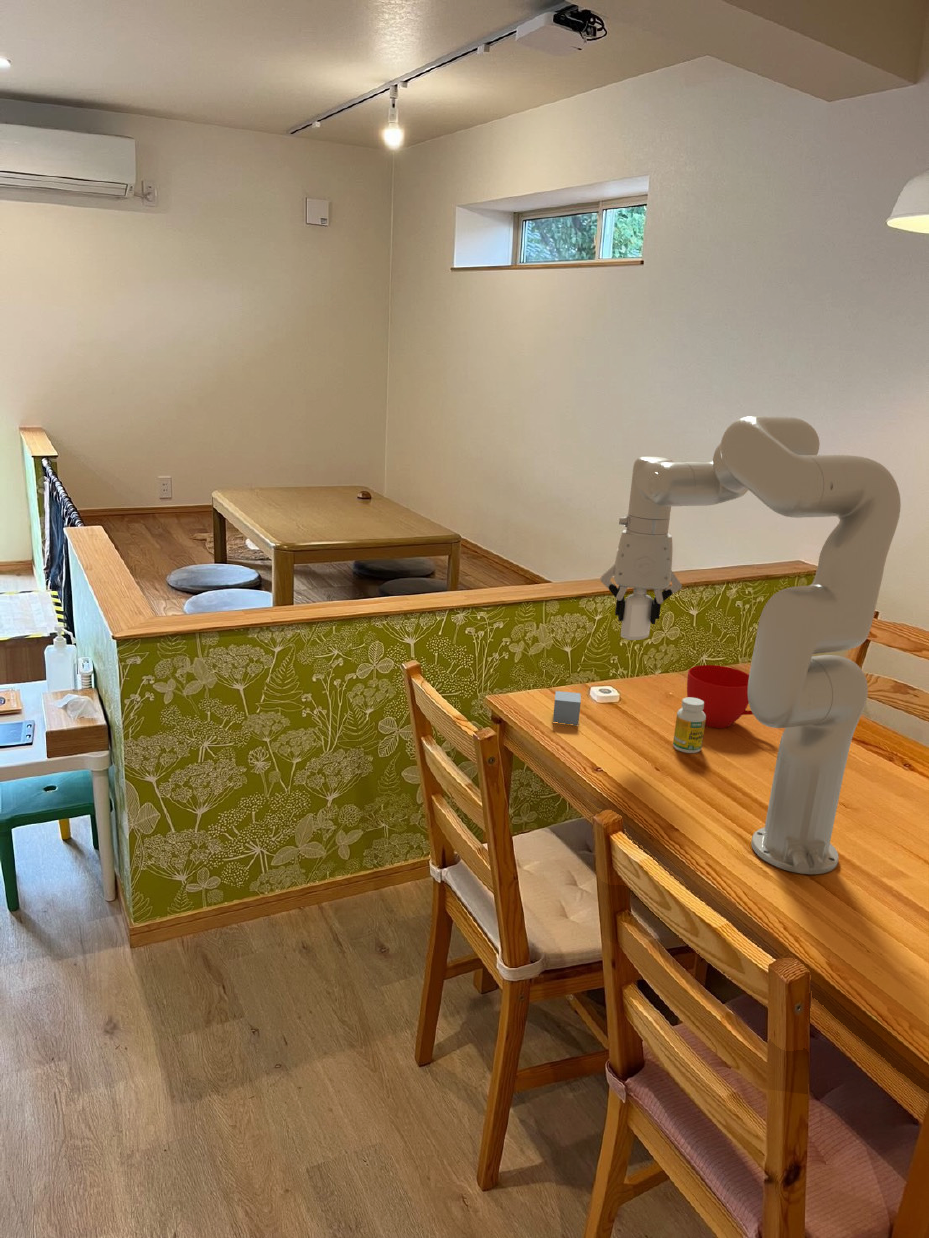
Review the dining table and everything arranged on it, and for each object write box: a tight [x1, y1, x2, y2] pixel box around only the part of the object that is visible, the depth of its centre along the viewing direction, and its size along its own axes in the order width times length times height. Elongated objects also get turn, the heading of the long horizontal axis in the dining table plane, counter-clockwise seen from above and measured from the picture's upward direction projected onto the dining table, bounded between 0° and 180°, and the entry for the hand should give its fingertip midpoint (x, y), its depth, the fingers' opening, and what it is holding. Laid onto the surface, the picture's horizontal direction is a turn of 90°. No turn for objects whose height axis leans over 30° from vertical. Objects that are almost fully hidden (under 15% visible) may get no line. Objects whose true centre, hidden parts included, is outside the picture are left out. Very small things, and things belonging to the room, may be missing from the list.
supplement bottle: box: [672, 696, 706, 754], centre depth 179 cm, size 5×5×10 cm
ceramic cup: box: [686, 664, 753, 729], centre depth 191 cm, size 13×17×10 cm
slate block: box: [552, 690, 582, 726], centre depth 189 cm, size 5×5×5 cm
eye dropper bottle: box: [620, 588, 654, 641], centre depth 177 cm, size 4×6×12 cm
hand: (636, 619), depth 178 cm, fingers closed on eye dropper bottle, 5 cm apart
